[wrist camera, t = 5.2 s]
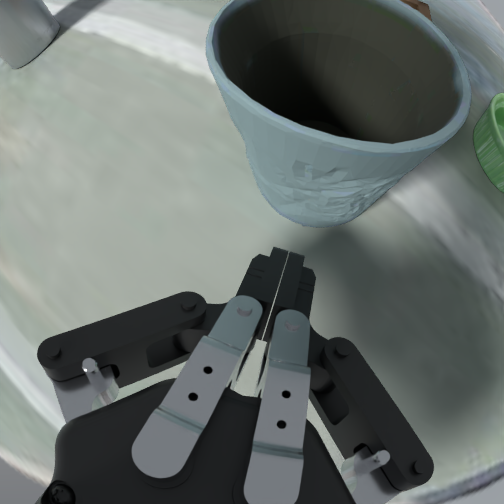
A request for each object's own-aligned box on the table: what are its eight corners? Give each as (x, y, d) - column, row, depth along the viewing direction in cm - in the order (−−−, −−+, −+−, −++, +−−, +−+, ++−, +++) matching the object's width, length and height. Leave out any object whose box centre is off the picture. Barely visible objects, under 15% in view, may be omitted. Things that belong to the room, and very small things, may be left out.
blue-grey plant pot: (389, 242, 19) (504, 170, 7) (236, 239, 20) (183, 146, 8) (373, 114, 21) (424, -5, 9) (242, 108, 21) (218, -25, 9)
